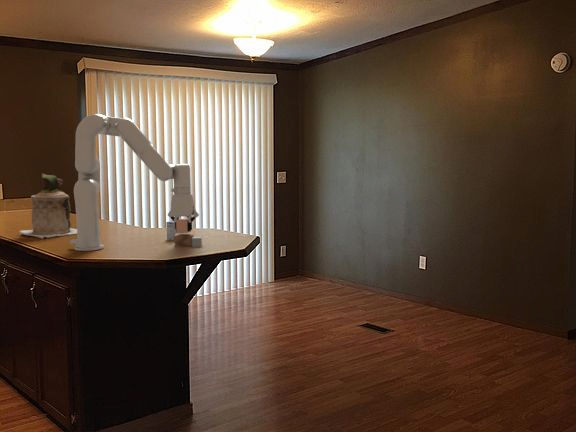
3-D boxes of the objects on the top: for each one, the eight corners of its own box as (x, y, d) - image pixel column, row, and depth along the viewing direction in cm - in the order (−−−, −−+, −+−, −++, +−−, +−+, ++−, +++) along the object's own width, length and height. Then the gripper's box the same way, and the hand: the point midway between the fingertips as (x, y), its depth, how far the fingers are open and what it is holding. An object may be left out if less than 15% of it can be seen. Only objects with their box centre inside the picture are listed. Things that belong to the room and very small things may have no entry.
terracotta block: (176, 232, 262) (176, 219, 261) (180, 231, 267) (180, 218, 266) (187, 233, 261) (186, 219, 260) (190, 231, 266) (190, 218, 265)
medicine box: (177, 237, 287) (176, 220, 286) (184, 237, 285) (183, 220, 284) (166, 239, 281) (165, 221, 280) (173, 240, 278) (172, 222, 277)
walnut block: (174, 247, 260) (174, 236, 259) (176, 244, 268) (175, 233, 267) (192, 246, 261) (192, 235, 260) (193, 243, 269) (193, 233, 268)
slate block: (192, 247, 258) (192, 238, 258) (193, 245, 262) (192, 237, 262) (201, 246, 259) (201, 238, 258) (201, 245, 263) (201, 236, 262)
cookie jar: (43, 239, 287) (39, 175, 283) (17, 235, 302) (13, 174, 298) (86, 233, 307) (83, 173, 303) (60, 229, 321) (57, 172, 318)
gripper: (161, 191, 259) (162, 231, 261) (197, 192, 256) (198, 232, 258) (167, 190, 267) (169, 229, 269) (203, 190, 263) (204, 230, 266)
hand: (183, 230), depth 264 cm, fingers closed on terracotta block, 5 cm apart
